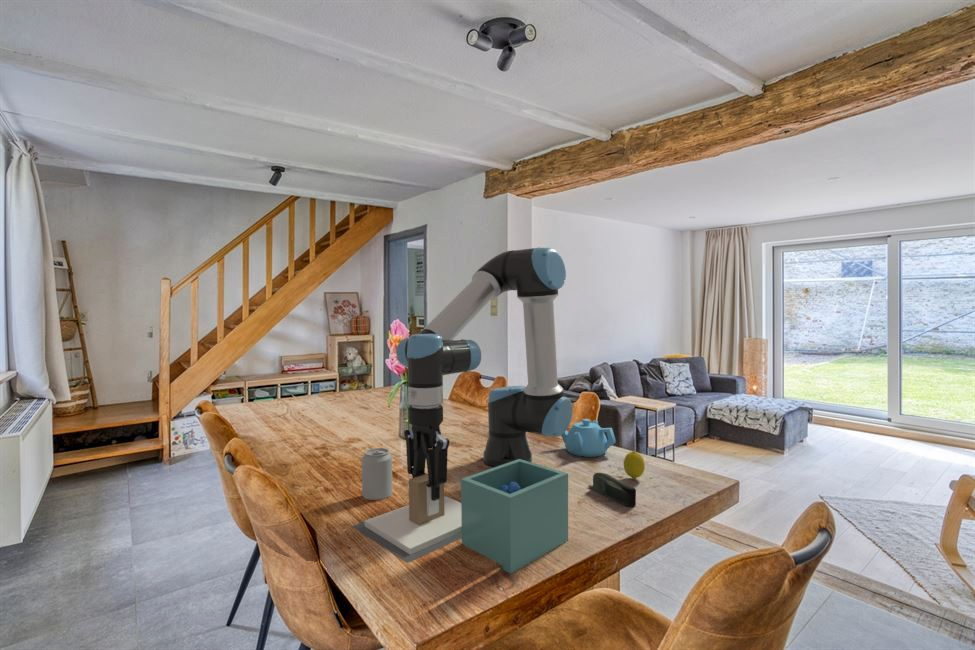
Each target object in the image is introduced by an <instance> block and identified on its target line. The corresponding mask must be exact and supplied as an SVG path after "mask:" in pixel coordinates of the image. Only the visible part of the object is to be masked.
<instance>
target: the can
mask: <svg viewBox="0 0 975 650" xmlns="http://www.w3.org/2000/svg"><path fill="white" fill-rule="evenodd" d="M363 453H364V455H363V456H362V457H361V492H362V493H361V496H362V497H363V499H365V500H367V501H379V500H381V501H382V500H384V499H387V498H390V497H391V496H392V494H393V456H392V455H391V453H390V450H389V449H388V448H385V447H376V448H369V449H367V450H365V451H364V452H363Z"/></svg>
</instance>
